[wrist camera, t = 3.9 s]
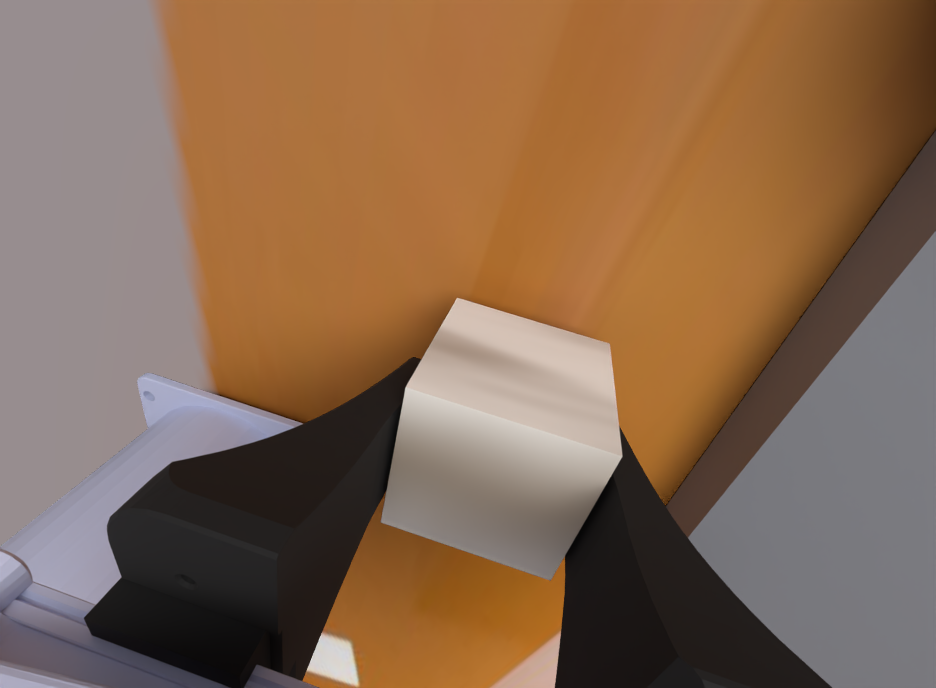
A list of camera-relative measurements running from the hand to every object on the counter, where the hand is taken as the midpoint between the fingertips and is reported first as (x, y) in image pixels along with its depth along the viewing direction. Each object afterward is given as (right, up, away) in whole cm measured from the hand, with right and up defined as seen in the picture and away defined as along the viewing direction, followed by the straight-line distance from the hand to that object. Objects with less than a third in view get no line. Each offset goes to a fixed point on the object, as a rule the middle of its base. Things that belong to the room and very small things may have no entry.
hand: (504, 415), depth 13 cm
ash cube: (0, +1, +1) cm, 2 cm away
